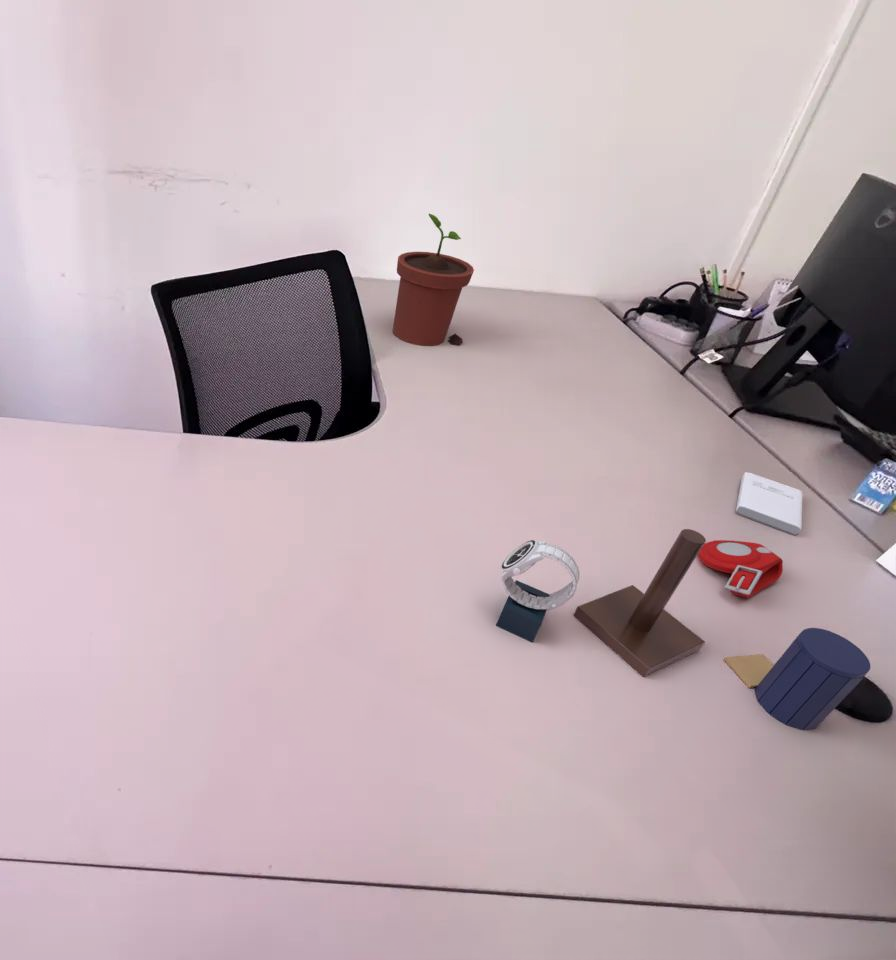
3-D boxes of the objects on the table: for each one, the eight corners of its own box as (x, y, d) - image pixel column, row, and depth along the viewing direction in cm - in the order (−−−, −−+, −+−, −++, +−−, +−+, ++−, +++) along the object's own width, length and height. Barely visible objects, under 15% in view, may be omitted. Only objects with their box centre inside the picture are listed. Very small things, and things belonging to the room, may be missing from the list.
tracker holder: (683, 537, 95) (758, 528, 94) (681, 564, 96) (754, 556, 95) (737, 581, 83) (823, 572, 82) (733, 611, 85) (818, 603, 84)
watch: (492, 591, 84) (520, 522, 77) (558, 620, 81) (592, 551, 74) (479, 618, 80) (507, 548, 73) (548, 650, 76) (583, 579, 70)
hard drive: (734, 513, 103) (740, 478, 111) (796, 536, 99) (798, 498, 108) (739, 505, 102) (745, 470, 110) (802, 528, 98) (804, 490, 107)
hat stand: (627, 593, 86) (681, 499, 77) (699, 650, 79) (767, 554, 70) (573, 614, 82) (622, 518, 73) (643, 677, 74) (707, 578, 66)
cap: (832, 726, 71) (886, 671, 66) (785, 732, 70) (835, 676, 65) (763, 655, 79) (806, 601, 74) (720, 659, 78) (760, 604, 72)
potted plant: (363, 325, 151) (385, 209, 137) (427, 310, 163) (453, 201, 148) (422, 356, 140) (453, 233, 126) (486, 337, 152) (521, 223, 137)
